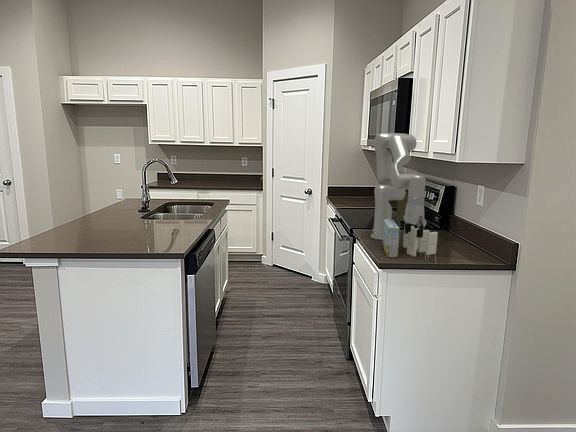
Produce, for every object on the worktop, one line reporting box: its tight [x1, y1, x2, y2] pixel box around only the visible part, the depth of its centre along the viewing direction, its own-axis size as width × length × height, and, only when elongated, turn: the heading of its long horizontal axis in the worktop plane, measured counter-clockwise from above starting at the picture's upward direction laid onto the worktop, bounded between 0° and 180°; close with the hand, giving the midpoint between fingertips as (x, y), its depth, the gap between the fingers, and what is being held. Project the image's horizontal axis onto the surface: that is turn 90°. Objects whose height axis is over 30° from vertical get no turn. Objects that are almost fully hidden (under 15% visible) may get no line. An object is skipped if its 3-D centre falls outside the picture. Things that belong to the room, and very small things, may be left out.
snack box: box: [382, 218, 400, 258], centre depth 204 cm, size 21×6×15 cm, turn 174°
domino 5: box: [424, 231, 439, 256], centre depth 202 cm, size 1×6×11 cm, turn 120°
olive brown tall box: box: [395, 191, 408, 222], centre depth 292 cm, size 11×10×20 cm
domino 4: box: [417, 229, 431, 253], centre depth 207 cm, size 1×6×11 cm, turn 120°
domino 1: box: [402, 225, 415, 249], centre depth 215 cm, size 1×6×11 cm, turn 120°
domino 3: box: [406, 232, 418, 257], centre depth 200 cm, size 1×6×11 cm, turn 18°
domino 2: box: [412, 228, 419, 250], centre depth 211 cm, size 1×6×11 cm, turn 120°
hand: (413, 235), depth 198 cm, fingers open, 9 cm apart
